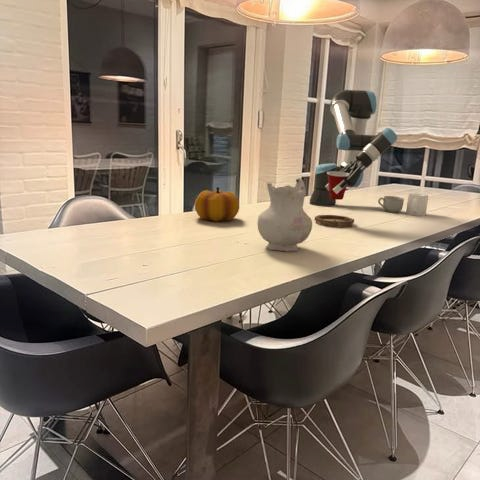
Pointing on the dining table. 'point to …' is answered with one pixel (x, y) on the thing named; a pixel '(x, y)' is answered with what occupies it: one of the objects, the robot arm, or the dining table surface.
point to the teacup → (392, 203)
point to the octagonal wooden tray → (334, 221)
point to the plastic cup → (334, 181)
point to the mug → (417, 204)
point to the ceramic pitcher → (285, 218)
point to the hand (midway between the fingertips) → (330, 190)
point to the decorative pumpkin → (217, 205)
